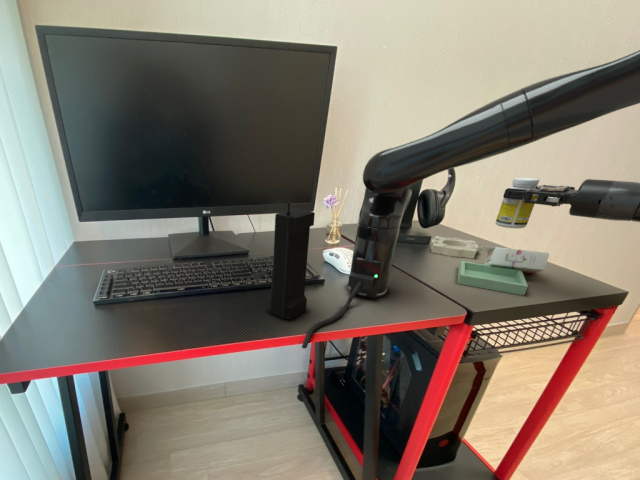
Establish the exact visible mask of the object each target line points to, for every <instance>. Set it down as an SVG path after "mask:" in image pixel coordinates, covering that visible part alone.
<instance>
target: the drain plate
mask: <svg viewBox="0 0 640 480" xmlns="http://www.w3.org/2000/svg"><path fill="white" fill-rule="evenodd" d="M429 249H430V250H431V251H430V253H432V254H437V255H439V254H440V255H444V256H449V257H456V258H467V259H475V256H476V255H477V252H478V251H476V250H477V249H479V244H477V243H476V241H475V240H470V239H462V238H458V237H448V236H447V237H445V236H439V235H438V236H437V235H435V236H434V238H432V240H431V243H430V247H429Z"/></svg>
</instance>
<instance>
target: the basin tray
mask: <svg viewBox="0 0 640 480" xmlns="http://www.w3.org/2000/svg"><path fill="white" fill-rule="evenodd" d="M457 284H458V285H464V286H469V287H474V288H480V289H487V290H491V291H498V292H503V293H509V294H514V295H519V296H520V295H521V296H525V294H526V292H527V289H528V288H529V285H528V283H527V280H526V278H525V274H524V272H522V270H518V269H512V268H505V267H498V266H492V265H485V264H484V263H477V262H470V261H465V260H460V263H459V266H458V270H457Z"/></svg>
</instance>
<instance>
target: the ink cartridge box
mask: <svg viewBox="0 0 640 480" xmlns="http://www.w3.org/2000/svg"><path fill="white" fill-rule="evenodd" d="M476 251H477V252H484V253H485V252H486V256H485V260H484V263H483V264H485V265H492V266H498V267H505V268H512V269H518V270H522V272H523V273H527V274H535V273H540V272H544V271H546V267H547V264H548V260H549V256H550V253H549V252H545V251H544V252H543V251H535V250H525V249H516V248H507V247H499V246H498V247H497V246H480V247H478V249H477V250H476Z"/></svg>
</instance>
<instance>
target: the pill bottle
mask: <svg viewBox="0 0 640 480" xmlns="http://www.w3.org/2000/svg"><path fill="white" fill-rule="evenodd" d="M539 182H540V178H536V177H535V178H534V177H514V178H513V180H512V183H511V185H512V186H511V188H514V189H526V190H527V189H531V190H537V189H535V187H536V186H538V185H539ZM536 196H537V194H533V196H532V199H535V198H536ZM535 205H536V204H533V203H525V202H523V201H522V200H518V199H508V198H504V197H503V198H502V201H501V205H500V207H499V210H498V214H497V216H496V218H495V219H496V220H495V225H496V226H498V227H501V228H506V229H524V228H526V227H527V225H528V223H529V220H530V218H531V215H532V212H533V210H534V207H535Z"/></svg>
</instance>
